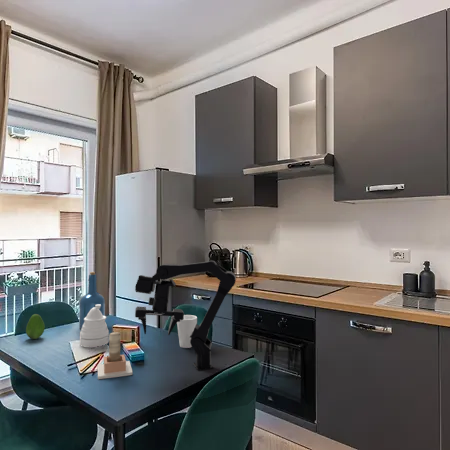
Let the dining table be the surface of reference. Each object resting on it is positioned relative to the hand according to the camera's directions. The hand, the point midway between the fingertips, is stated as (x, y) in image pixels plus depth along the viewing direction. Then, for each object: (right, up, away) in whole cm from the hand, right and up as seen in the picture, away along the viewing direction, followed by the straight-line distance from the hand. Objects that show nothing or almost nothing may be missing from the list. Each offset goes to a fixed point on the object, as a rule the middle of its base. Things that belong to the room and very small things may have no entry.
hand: (156, 334), depth 144 cm
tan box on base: (-15, -12, -6) cm, 20 cm away
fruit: (-65, -12, +33) cm, 74 cm away
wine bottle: (-45, -12, +54) cm, 71 cm away
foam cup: (+9, -13, +24) cm, 28 cm away
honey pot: (-34, -12, +27) cm, 45 cm away
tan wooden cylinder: (-15, -11, -6) cm, 19 cm away
